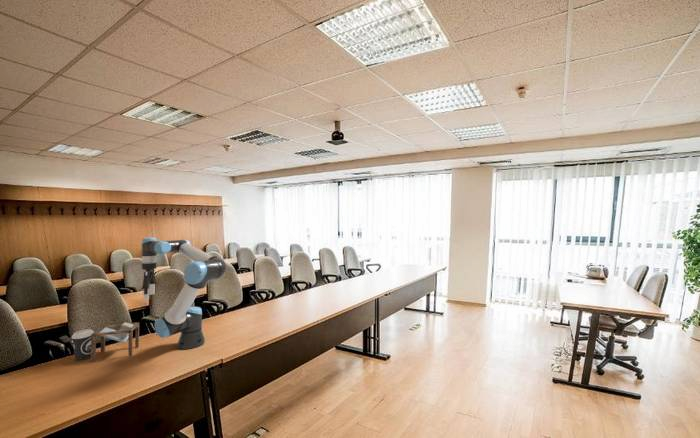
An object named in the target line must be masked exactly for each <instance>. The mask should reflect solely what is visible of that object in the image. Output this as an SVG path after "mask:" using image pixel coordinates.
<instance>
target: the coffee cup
mask: <svg viewBox="0 0 700 438" xmlns="http://www.w3.org/2000/svg"><path fill="white" fill-rule="evenodd" d="M94 332H95V331H93V329H91V328H89V329H88V328H87V329H81V330H78V331H76V332H73V334H72V336H71V337H70V338H71V339H72V344H73V355H74V361H75V362H82V361H86V360H88V359H91V335H92V334H93V333H94Z"/></svg>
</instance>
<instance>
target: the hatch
mask: <svg viewBox="0 0 700 438" xmlns="http://www.w3.org/2000/svg"><path fill="white" fill-rule="evenodd" d="M112 331H117V330H116V329H114V328H107V327H105V328H104V329H102V330H101V331H100V332H99V333H103V332H112ZM103 337H105V339H106V338H107V339H110V340H113V341H116V342H119V343H122V344H125V343H126V342H127V341H129V334H128V336H127V337H126V338H125V339H123V338H119V337H116V334H112V335H103Z"/></svg>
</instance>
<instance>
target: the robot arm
mask: <svg viewBox="0 0 700 438" xmlns="http://www.w3.org/2000/svg"><path fill="white" fill-rule="evenodd" d="M170 253H178V254H180V255H182V256H184V257H187V258H188V259H190V260H191V261H193V262H190V263H188V264H187V265H186V267H185V268H184V270H183V273H184V274H183V279H184V282H185V283H184V285H183V287H182V288H181V290H180V292H179V294H178V296H177V297H176V298H175V301H174V303H173V304H172V306H171V308H169V309H167V310H166V311H165V312H164V315H163V316H161V317H158V318H157V319H155V322H154V331H155V333H156V334H157V336H158V337H160V338H163V339H165V338H169V337H171V336H173V335H176V334H179V333H180V335H179V338H178V341H177V348H178V349H181V350H189V349H190V350H191V349H196V348H199V347H201V346H203V345H204V344H206V343H205V342H206V338H205V335H204V331H203V310H202V308H201V307H200V306H192V305H193V303H194V301H195V299H196V298H197V296H198V294H199V293H200V291H201V290H202V289H204V288H206V287H207V285H208V283H209V282H211V281H214V280H218V279H220V278H222V277H223V276H224V275H225V273H226V272H227V263H226V262H225V260H224V259H222V258H221V257H220V256H217V255H211V254H209V253H208V252H205V251H203V250H201V249H199V248H198V247H196V246H193V245H191V242H190V241H189V239H188V240H187V239H175V240H159V241H158V240H157V238H156V237H143V238H142V240H141V257H140V259H141V269H142V270H145V271H143V278H142V279H143V281H142V287H141V290H142V291H143V292H142V293H143V298H142V299H143V301H147V300H150V296H151V295H155V293H156V292H155V289H156V288H155V285H156V284H157V281H156V275H155V269H157V267H158V266H157V258H158V257H157V255H158V254H159V255H165V254H170Z"/></svg>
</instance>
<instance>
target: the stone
mask: <svg viewBox="0 0 700 438" xmlns="http://www.w3.org/2000/svg"><path fill="white" fill-rule="evenodd" d="M132 326H133V324H130V322H126V321H125V322H123V323H122V326H121V327H119V329H118V331H121V330H130V329H131V327H132ZM128 335H129V333H120V334H116V337H119V338H123V339H125V338H126V337H127V336H128Z"/></svg>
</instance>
